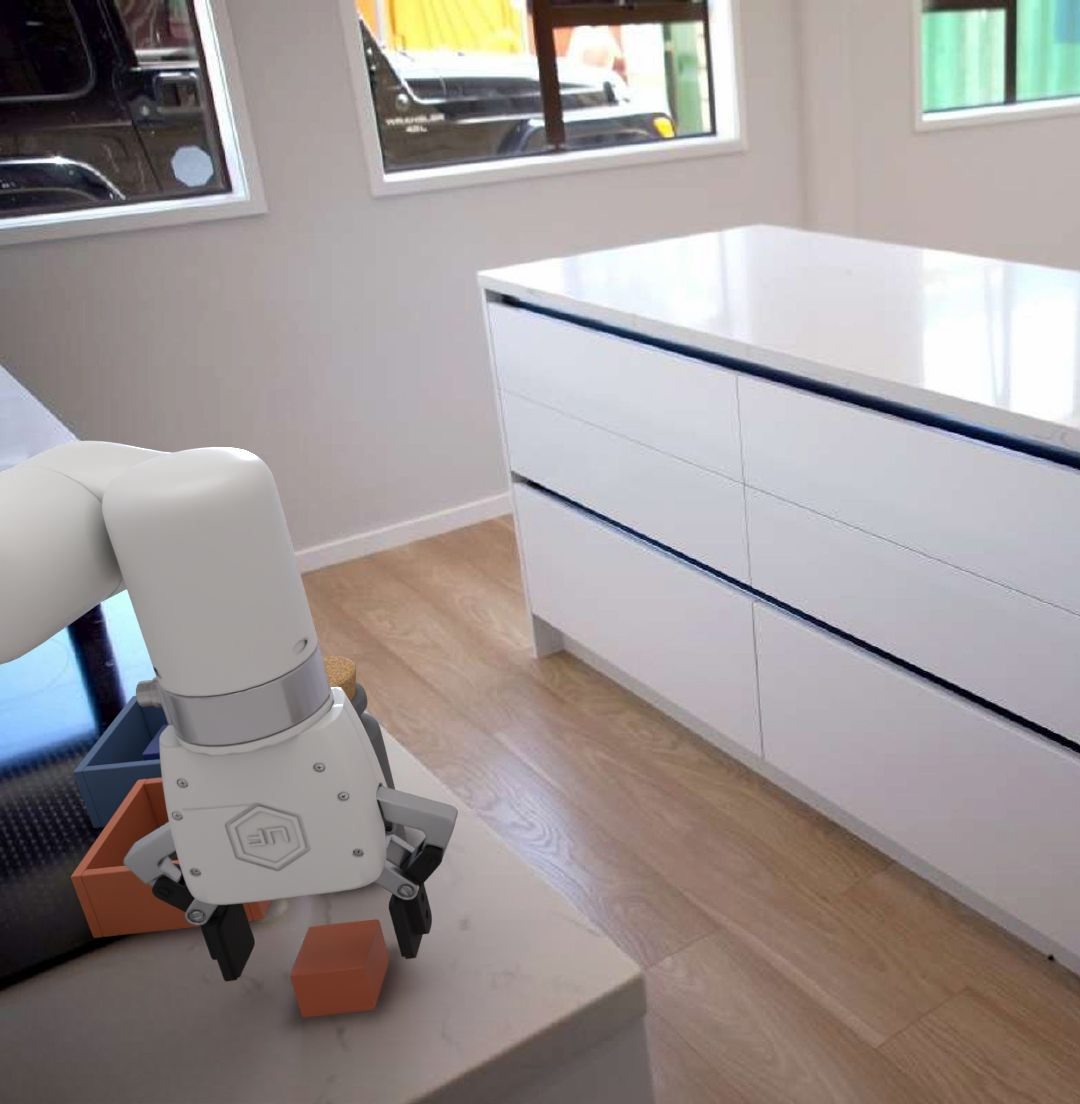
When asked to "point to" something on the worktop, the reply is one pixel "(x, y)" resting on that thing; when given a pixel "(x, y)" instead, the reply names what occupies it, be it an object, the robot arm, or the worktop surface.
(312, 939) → the terracotta block
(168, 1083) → the worktop surface
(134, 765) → the blue bin
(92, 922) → the terracotta bin
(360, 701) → the bottle
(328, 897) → the worktop surface
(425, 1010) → the worktop surface
